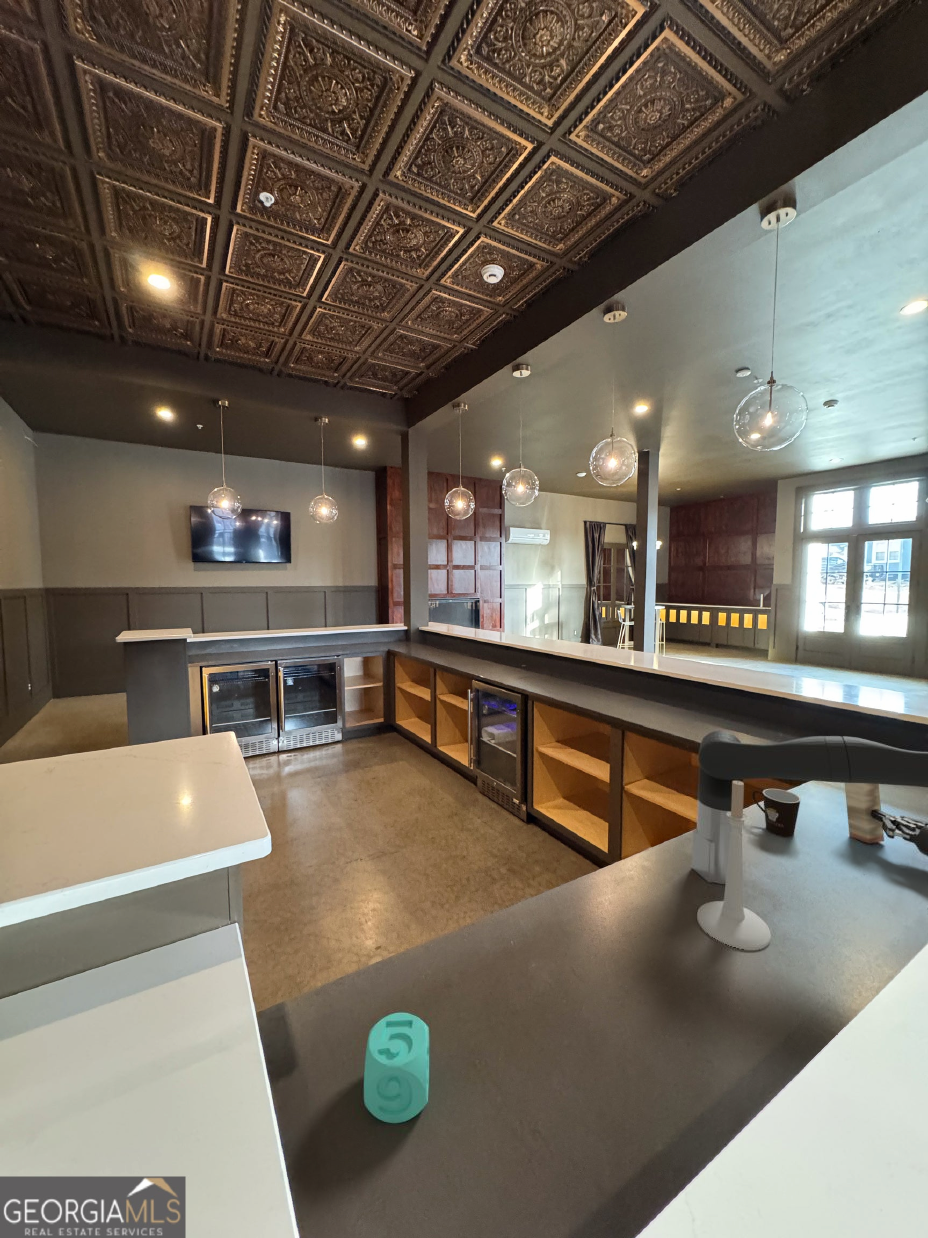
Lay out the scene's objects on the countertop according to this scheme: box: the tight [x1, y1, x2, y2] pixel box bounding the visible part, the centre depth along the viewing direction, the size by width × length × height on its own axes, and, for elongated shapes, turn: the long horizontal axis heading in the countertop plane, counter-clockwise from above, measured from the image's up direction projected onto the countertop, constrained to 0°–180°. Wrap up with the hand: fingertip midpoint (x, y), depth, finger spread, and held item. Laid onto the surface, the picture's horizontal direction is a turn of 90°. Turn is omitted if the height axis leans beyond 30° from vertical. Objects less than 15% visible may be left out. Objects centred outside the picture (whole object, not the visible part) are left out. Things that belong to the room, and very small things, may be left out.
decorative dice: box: [363, 1012, 430, 1124], centre depth 66 cm, size 8×8×8 cm
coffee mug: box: [752, 788, 801, 838], centre depth 134 cm, size 12×9×10 cm
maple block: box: [844, 783, 885, 844], centre depth 128 cm, size 5×5×16 cm
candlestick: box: [696, 781, 772, 951], centre depth 96 cm, size 13×13×30 cm
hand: (873, 813), depth 126 cm, fingers closed
